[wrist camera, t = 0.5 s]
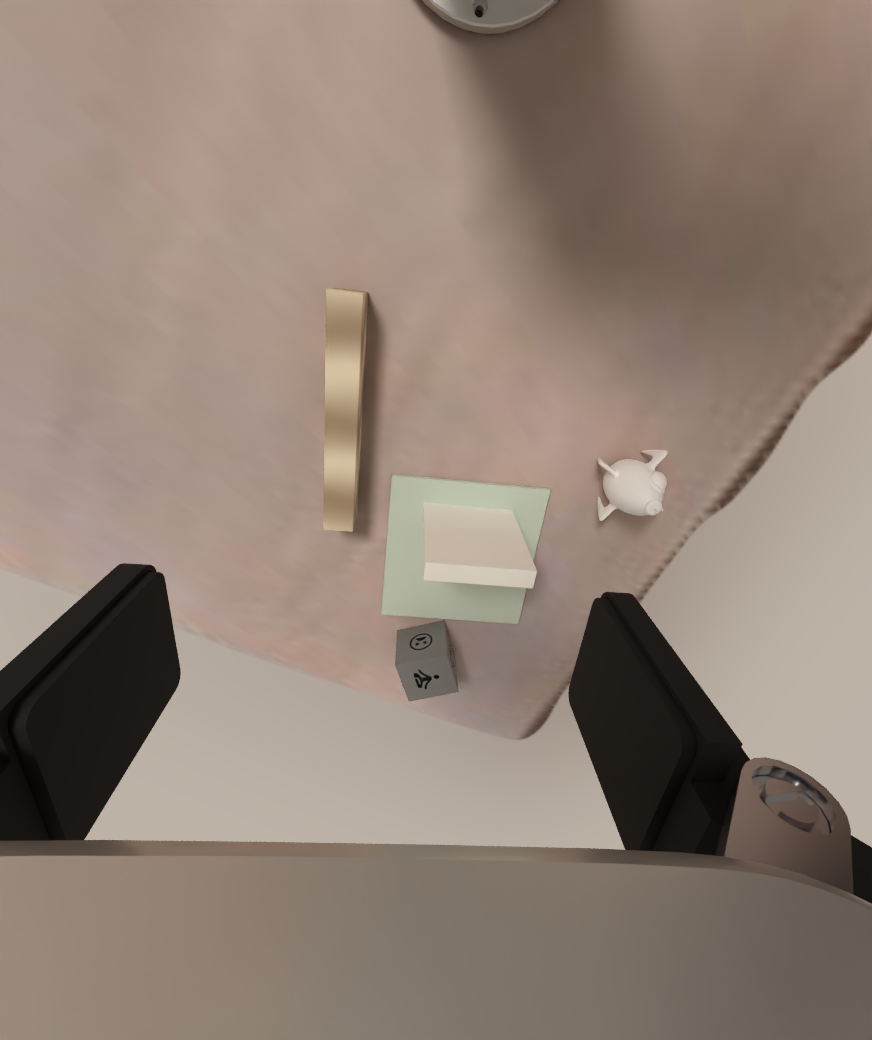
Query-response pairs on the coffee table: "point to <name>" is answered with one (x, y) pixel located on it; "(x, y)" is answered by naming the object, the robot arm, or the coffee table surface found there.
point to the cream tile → (475, 546)
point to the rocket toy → (633, 486)
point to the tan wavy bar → (343, 405)
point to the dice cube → (426, 661)
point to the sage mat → (405, 549)
